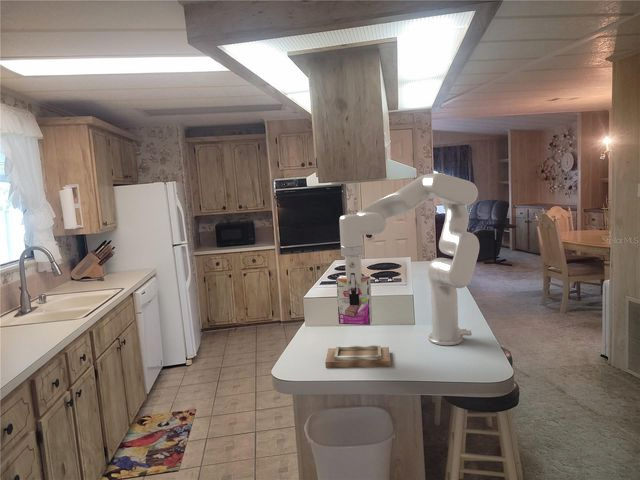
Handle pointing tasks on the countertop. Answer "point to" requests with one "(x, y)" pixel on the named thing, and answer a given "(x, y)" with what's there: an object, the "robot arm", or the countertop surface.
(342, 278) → the candy bar box
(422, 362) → the countertop surface
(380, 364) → the walnut plinth
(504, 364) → the countertop surface
